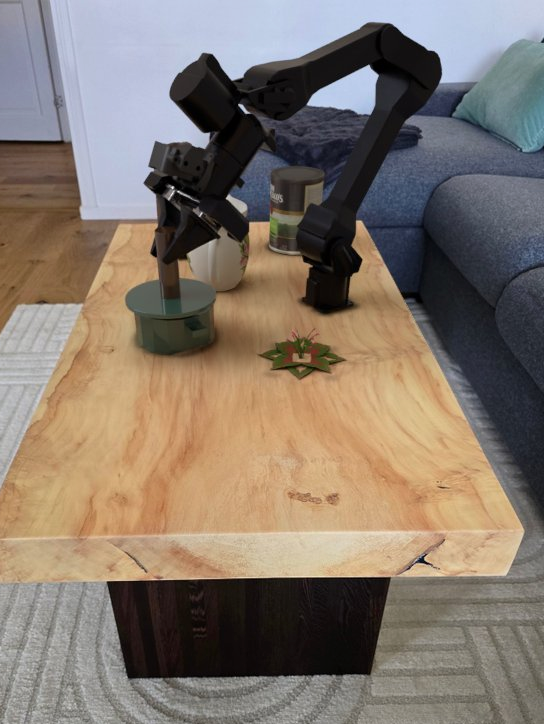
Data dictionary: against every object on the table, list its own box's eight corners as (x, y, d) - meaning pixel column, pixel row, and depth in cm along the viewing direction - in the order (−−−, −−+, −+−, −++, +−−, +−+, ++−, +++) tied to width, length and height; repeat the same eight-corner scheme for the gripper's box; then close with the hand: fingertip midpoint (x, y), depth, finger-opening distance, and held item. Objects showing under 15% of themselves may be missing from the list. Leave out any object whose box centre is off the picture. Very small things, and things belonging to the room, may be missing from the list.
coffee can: (276, 257, 123) (279, 180, 115) (262, 240, 131) (263, 167, 123) (327, 252, 125) (332, 177, 117) (310, 236, 133) (314, 164, 125)
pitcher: (180, 306, 105) (175, 222, 97) (193, 266, 119) (189, 190, 111) (246, 307, 104) (246, 223, 96) (251, 267, 119) (251, 191, 110)
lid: (221, 286, 93) (219, 215, 87) (210, 324, 83) (206, 247, 77) (137, 284, 94) (128, 214, 88) (116, 321, 84) (105, 245, 78)
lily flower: (242, 357, 91) (242, 328, 88) (304, 334, 97) (306, 306, 94) (297, 392, 83) (299, 361, 80) (361, 364, 89) (365, 335, 86)
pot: (185, 308, 104) (183, 276, 101) (237, 350, 93) (236, 315, 89) (119, 324, 100) (114, 291, 96) (164, 370, 88) (161, 334, 85)
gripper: (149, 103, 82) (83, 205, 84) (226, 125, 70) (147, 245, 72) (204, 160, 91) (143, 252, 92) (282, 188, 78) (209, 294, 80)
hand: (158, 259), depth 84 cm, fingers closed on lid, 3 cm apart
